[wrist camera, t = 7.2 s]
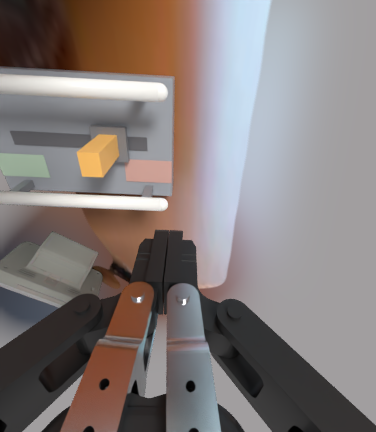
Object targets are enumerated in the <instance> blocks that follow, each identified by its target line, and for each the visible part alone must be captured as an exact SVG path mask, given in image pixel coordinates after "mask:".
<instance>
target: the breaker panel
mask: <svg viewBox="0 0 376 432" xmlns="http://www.w3.org/2000/svg"><path fill="white" fill-rule="evenodd" d="M174 92H175V76H161V75H143V74H126V73H109V72H91V71H74V70H57V69H39V68H22V67H5V66H0V168H1V171H2V173H3V175H4V176H5V178H6V180H7V183H8V185H9V187H10V189H11V190H10V191H0V204H7V205H30V206H31V205H32V206H54V207H77V208H101V209H124V210H147V211H164V210H166V209H167V207H168V202H167V200H166V199H164V198H152V195H159V196H172V189H173V164H174ZM90 125H105V126H124V127H127V137H128V148H129V158H130V161H129V162H128V163H127V162H114V163H113V165H112V166H111V167H110V169H109V170H108V171H107V173H106V174H105V175H104V177H82V174H81V169H80V165H79V161H78V156H77V151H79V150H80V149H81V148H82V147H84V146H85V145H86V144H87V143H89V142H90V141H91V136H90V131H89V126H90ZM30 190H47V191H69V192H92V193H114V194H137V195H142V197H129V196H107V195H84V194H60V193H38V192H29V191H30Z"/></svg>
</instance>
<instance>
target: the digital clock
mask: <svg viewBox="0 0 376 432" xmlns="http://www.w3.org/2000/svg"><path fill="white" fill-rule="evenodd" d="M97 255H98V252H96V251H94V250H91V249H89V248H87V247H85V246H83V245H81V244H79V243H77V242H75V241H72V240H70V239H68V238H66V237H64V236H62V235H60V234H58V233H55V232H53V231H52V232H51V234H50V235H49V236H48V237H47V239H46V240H45V241H44V242H43V243H42V245H41V246H39V245H37V244H35V243H32V242H23V243H21V244H20V245H19V246H17V247H16V248H15V249H14V250H13V251H11V252H10V253H9V254H8V255H7V256H6V257H5V258H3V259H2V260H1V261H0V286H1V287H4V288H6V289H9V290H12V291H15V292H17V293H20V294H23V295H25V296H28V297H31V298H34V299H36V300H39V301H42V302H45V303H48V304H51V305H53V306H56V307H59V308H60V307H61V306H63V305H64V304H66V303H67V302H69V301H70V300H72V299H73V298H75V297H76V296H79V295H81V294H88V293H89V294H94V295H96V296H97V297H98V295H99V290H100V287H101V283H102V279H103V277H102V274H101V273H100V272H98V271H96V270H94V269H92V266H93V264H94V262H95V260H96V258H97Z"/></svg>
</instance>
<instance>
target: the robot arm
mask: <svg viewBox="0 0 376 432" xmlns="http://www.w3.org/2000/svg"><path fill="white" fill-rule="evenodd" d="M182 237H183V231H175V230H170V232H169V230H155V234H154V239H145V240H144V241H143V242H142V243H141V244H140V246H139V249H138V254H137V257H136V261H135V264H134V268H133V272H132V275H131V279H130V283H129V285H128V286H126V287H125V288H124V290H123V291H122V293H120V294H118V295H116V296H113V297H110V298H106V299H101V300H100V299H99V298H98V297H97V296H96V295H94V294H89V293H88V294H81V295H79V296H76V297H75V298H73V299H72V300H70V301H69V302H67V303H66V304H64V305H63V306H61V307H60V308H59V309H57V310H56V311H54V312H53V313H51V314H50V315H48V316H47V317H45V318H44V319H42V320H41V321H40V322H38V323H37V324H35V325H34V326H32V327H31V328H29V329H28V330H27V331H25V332H23V333H22V334H21V335H19V336H18V337H17V338H15V339H13V340H12V341H10V342H9V343H7V344H6V345H5V346H3V347H2V348H0V432H22V431H23V430H24V429H25V428H26V427H27V426H28V425H30V424H31V423H32V422H33V421H34V420H35V419H36V418H37V417H38V416H39V415H40V414H41V413H42V412H43V411H44V410H45V409H46V408H48V406H50V405H51V404H52V403H53V402H54V401H55V400H56V399H57V398H58V397H59V396H60V395H61V394H62V393H63V392H64V391H65V390H66V389H68V387H70V386H71V385H72V384H73V383H74V382H75V381H76V380H77V379H78V378H79V377H80V376H81V375H82V374H83V373H84V374H83V377H82V379H81V382H80V384H79V386H78V389H77V391H76V394H75V396H74V398H73V401H72V403H71V406H69V407H68V408H66V409H65V410H64V411H62V412H61V413H60V414H59V415H58V416H57V417H55V418H54V419H53V420H52V421H51V422H50V424H48V425H47V426H46V428H45V429H44V430H43V431H42V432H244V430H243V429H242V428H241V426H240V424H239V423H238V422H237V420H236V419H235V418H234V417H233V416H232V415H231V414H230V413H229V412H228V411H227V410H226V409H225V408H223V407H222V406H221V405H219V404H217V399H216V392H215V386H214V379H213V372H212V365H211V358H210V352H211V354H212V356H213V358H214V359H215V360H216V361H217V363H218V364H219V365H220V366H221V368H222V369H223V370H224V371H225V373H226V374H227V375H228V376H229V378H230V379H231V380H232V382H233V383H234V384H235V385H236V387H237V388H238V389H239V390H240V391H241V393H242V394H243V395H244V397H245V398H246V399H247V400H248V402H249V403H250V404H251V405H252V407H253V408H254V409H255V411H256V412H257V413H258V414H259V416H260V417H261V418H262V419H263V420H264V422H265V423H266V424H267V426H268V427H269V428H270V429H271V430H272V432H376V425H375V424H373V423H372V422H371V421H370V420H369V419H368V418H367V417H366V416H365V415H364V414H363V413H362V412H360V411H359V410H358V409H357V408H356V407H355V406H354V405H353V404H352V403H351V402H349V400H347V399H346V398H345V397H344V396H343V395H342V394H341V393H340V392H339V391H338V390H337V389H336V388H335V387H333V386H332V385H331V384H330V383H329V382H328V381H327V380H326V379H325V378H324V377H323V376H322V375H320V374H319V373H318V372H317V371H316V370H315V369H314V368H313V367H312V366H311V365H310V364H309V363H308V362H306V361H305V360H304V359H303V358H302V357H301V356H300V355H299V354H298V353H297V352H296V351H294V350H293V349H292V348H291V347H290V346H289V345H288V344H287V343H286V342H285V341H284V340H283V339H281V337H279V336H278V335H277V334H276V333H275V332H274V331H273V330H272V329H271V328H270V327H268V325H266V324H265V323H264V322H263V321H262V320H261V319H260V318H259V317H258V316H257V315H256V314H255V313H253V312H252V311H251V310H250V309H249V308H248V307H247V306H246V305H245V304H244V303H242V302H240V301H238V300H235V299H226V300H224V301H222V302H221V303H218V302H215V301H212V300H210V299H208V298H206V297H205V296H203V295H202V294H201V292H200V291H199V289H198V285H197V262H196V246H195V245H194V243H193V241H192V240H182ZM163 308H164V314H167V376H166V380H167V383H166V387H167V388H166V394H163V395H160V396H157V397H154V398H145V397H144V395H145V389H146V378H147V372H148V366H149V362H150V357H151V352H152V347H153V342H154V337H155V330H156V325H157V318H158V314H163Z"/></svg>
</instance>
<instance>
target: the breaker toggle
mask: <svg viewBox="0 0 376 432" xmlns="http://www.w3.org/2000/svg"><path fill="white" fill-rule="evenodd" d="M89 131H90V136H91V141H90V142H89V143H87V144H86V145H85V146H84V147H82V148H81V149H80V150H79V151H77V156H78V161H79V165H80V169H81V174H82V177H104V175H105V174H106V173H107V171H108V170H109V169H110V167H111V166H112V165H113V163H114V162H127V163H128V162H129V161H130V158H129V148H128V137H127V127H124V126H105V125H90V126H89Z"/></svg>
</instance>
